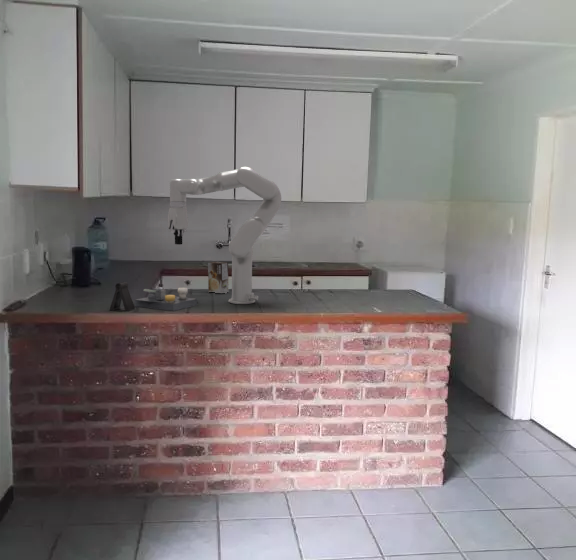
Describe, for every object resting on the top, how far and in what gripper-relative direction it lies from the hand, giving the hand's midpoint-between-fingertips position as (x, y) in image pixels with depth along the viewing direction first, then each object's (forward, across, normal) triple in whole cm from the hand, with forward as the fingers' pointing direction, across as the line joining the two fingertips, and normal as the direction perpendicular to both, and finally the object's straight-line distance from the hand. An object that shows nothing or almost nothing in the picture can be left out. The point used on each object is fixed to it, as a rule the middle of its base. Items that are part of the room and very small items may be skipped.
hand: (178, 244), depth 282 cm
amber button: (+26, +19, +10) cm, 34 cm away
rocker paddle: (+22, +14, -4) cm, 27 cm away
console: (+27, +14, +4) cm, 31 cm away
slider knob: (+24, +17, +3) cm, 29 cm away
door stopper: (+27, +32, -6) cm, 43 cm away
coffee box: (+27, -30, +2) cm, 40 cm away
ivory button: (+24, +10, +10) cm, 28 cm away
